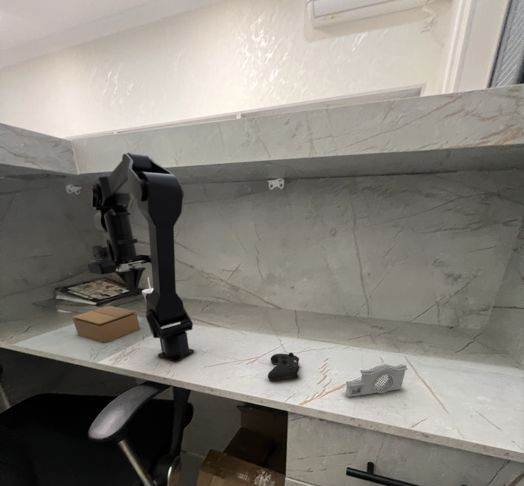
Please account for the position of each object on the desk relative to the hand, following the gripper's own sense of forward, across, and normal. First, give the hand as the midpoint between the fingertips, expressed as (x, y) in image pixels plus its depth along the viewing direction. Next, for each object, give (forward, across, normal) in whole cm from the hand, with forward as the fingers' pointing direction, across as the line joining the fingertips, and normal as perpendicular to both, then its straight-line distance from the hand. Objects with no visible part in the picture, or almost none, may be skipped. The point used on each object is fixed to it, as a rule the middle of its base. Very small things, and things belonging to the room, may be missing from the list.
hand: (133, 294), depth 79 cm
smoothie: (+12, -12, -7) cm, 18 cm away
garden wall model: (+12, 0, +67) cm, 68 cm away
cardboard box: (+12, +4, -10) cm, 16 cm away
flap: (+7, +7, -10) cm, 14 cm away
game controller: (+12, +1, +48) cm, 50 cm away
